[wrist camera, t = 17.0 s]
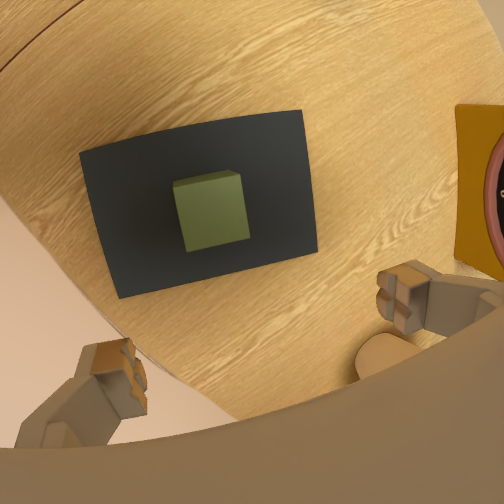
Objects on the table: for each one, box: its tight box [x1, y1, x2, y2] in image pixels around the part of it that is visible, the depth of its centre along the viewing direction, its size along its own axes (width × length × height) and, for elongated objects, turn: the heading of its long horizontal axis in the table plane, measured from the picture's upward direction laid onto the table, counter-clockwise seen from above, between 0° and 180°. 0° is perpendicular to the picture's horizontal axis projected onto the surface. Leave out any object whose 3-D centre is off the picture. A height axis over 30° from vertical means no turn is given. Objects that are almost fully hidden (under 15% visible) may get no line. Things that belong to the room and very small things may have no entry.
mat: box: [79, 110, 318, 299], centre depth 28 cm, size 20×14×1 cm
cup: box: [355, 333, 424, 380], centre depth 34 cm, size 12×12×14 cm
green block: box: [173, 170, 250, 252], centre depth 26 cm, size 5×5×4 cm
